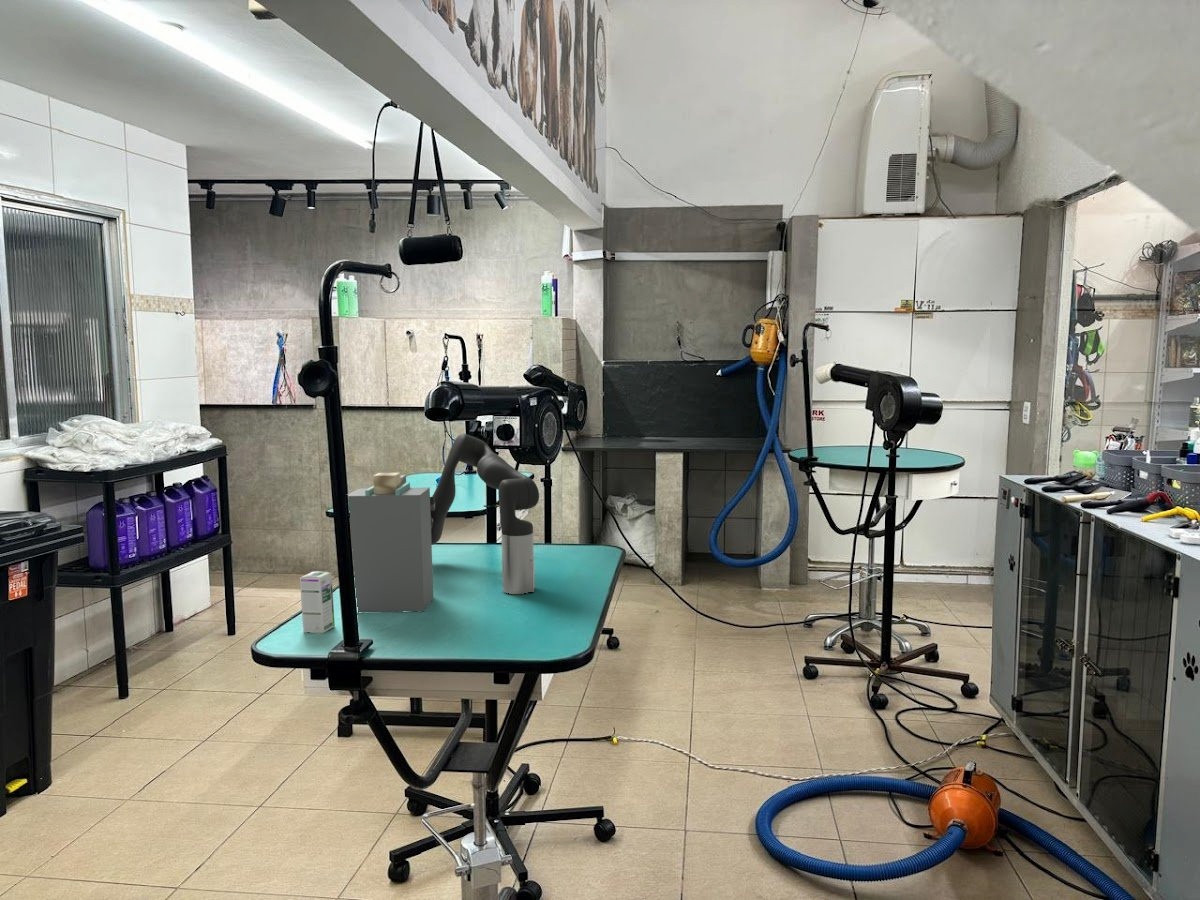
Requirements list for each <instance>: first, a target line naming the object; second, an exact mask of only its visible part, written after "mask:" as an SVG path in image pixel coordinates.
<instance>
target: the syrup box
mask: <svg viewBox="0 0 1200 900" xmlns="http://www.w3.org/2000/svg"><path fill="white" fill-rule="evenodd" d="M332 577H333V575H332V572H331V571H324V570H323V571H321V570H320V571H319V570H317V571H311V572H309V573H306V574H305V575H303V576H300V577H299V585H300V587H299V588H300V589H299V590H300V603H301V615H302V616H301V617H302V630H303V633H307V632H310V633H309V634H325V632H328V631H329V630H331V629H333V628H334V627H335V625H336V624H335V610H334V608H335V607H334V593H333V591H334V590H333V579H332Z"/></svg>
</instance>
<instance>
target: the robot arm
mask: <svg viewBox="0 0 1200 900" xmlns="http://www.w3.org/2000/svg"><path fill="white" fill-rule="evenodd" d="M459 462H460V463H464V464H466V465H468V466H471V467H473V468H476V472H477V475H478V477H479V478H480V480H481V481H483V483H485V484H486V485H487V486H488V487H490V488H492V489H495V490H498V504H499V521H500V528H501V529H500V530H501V560H502V562H501V565H502V566H501V568H502V569H501V570H502V591H504V592H503V593H504V594H508V593H509V595H525V594H524V593H526V594H529V593H528V592H535V589H536V577H535V576H536V575H535V572H536V570H535V555H534V554H535V553H534V526H533V523H532V522H530V521H528V520H524V519H521V518H519V517H517V515H516V511H523V510H529V509H532V508H535V507H536V506H537V504H538V502H539V501H540V493H539V488H538V486H537V484H536V483H535V481H534V480H533V479H532V478H531V477H529V476H527V475H525V474H523V473H521V472H520V471H519V470H517V469H516V468H514V467H513V466H512V465H510V464H509V463H508V462H507V461H506V460H504V458H503V457H501V456H500V455H498V454H497V453H495V452H494V451H493V450H492V449H491V448H490V446H489V445H488V444H487V443H486V442H485V441H484V440H482V439H480V438H477V437H475V436H472V435H469V434H467V433H460V434H458V435H457V436H456V437H455V439H454V441H453V443H452V444H451V447H450V450H449V452H448V456H447V458H446V460H445V463H444V467H443V469H442V473H441V475H440V477H439V481H438V484H437V486H436V488H435V491H434V492H433V494H432V496H430V513H431V542H432V546H433V545H435V544H437V543H438V542H439V541H440V540H441V537H442V535H443V531H444V525H445V521H446V518H447V515H448V513H449V510H450V509H451V507H452V505H453V503H454V501H455V497H456V481H455V476H456V475H455V473H456V470H457V469H456V468H457V466H458V464H459ZM534 588H535V589H534Z"/></svg>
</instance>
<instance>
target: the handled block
mask: <svg viewBox="0 0 1200 900" xmlns="http://www.w3.org/2000/svg"><path fill="white" fill-rule="evenodd" d="M372 479H373V483H372V484H373V486H374V494H396V493H395V490H396V489H397V488H399V487H400V486H402V485H403V484H405V483H407V474H401V472H377V473H375V474H374V475H373V476H372Z"/></svg>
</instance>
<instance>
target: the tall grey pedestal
mask: <svg viewBox="0 0 1200 900" xmlns="http://www.w3.org/2000/svg"><path fill="white" fill-rule="evenodd" d="M430 489H431V488H430V487H411V482H407V481H406V483H405V484H403V485H402V486H400V487H399V488H397V489H396V490H395V493H396V494H374V485H372V486H370V487H369V488H367V487H366V488H364V487H363V488H356V489H355V490H354V491H352V492H349V493H348V494H347V495H348V497H349V511H350V527H351V538H352V549H353V560H354V571H355V588H356V598H357V607H358V613H357V614H360V613H359V612H393V613H404V612H403V611H424V612H425V611H426V610H427V608H428V607H427V606H429V605H430V604H431V602H432V601H431V600H433V599H434V579H433V578H434V577H433V551H432V550H433V549H432V547H433V545H432V542H431V518H432V517H431V513H430V497H431V490H430ZM430 601H431V602H430ZM429 603H430V604H429ZM425 609H426V610H425Z"/></svg>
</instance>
